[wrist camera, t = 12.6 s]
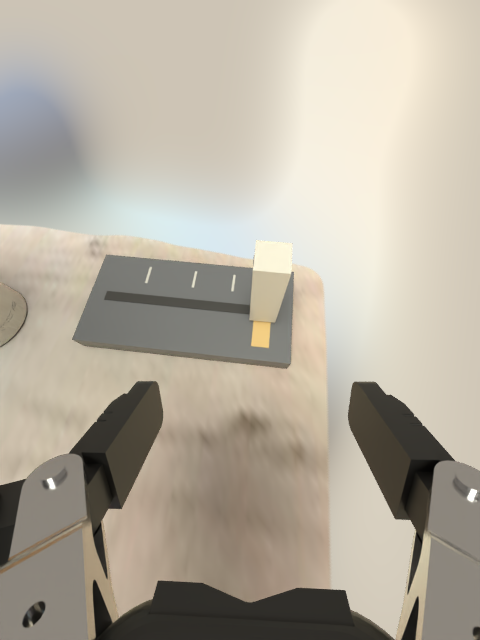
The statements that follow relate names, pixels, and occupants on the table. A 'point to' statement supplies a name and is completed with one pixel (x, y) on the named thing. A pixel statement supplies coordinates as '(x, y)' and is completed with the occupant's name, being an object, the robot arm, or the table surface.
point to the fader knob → (269, 279)
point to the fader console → (183, 312)
